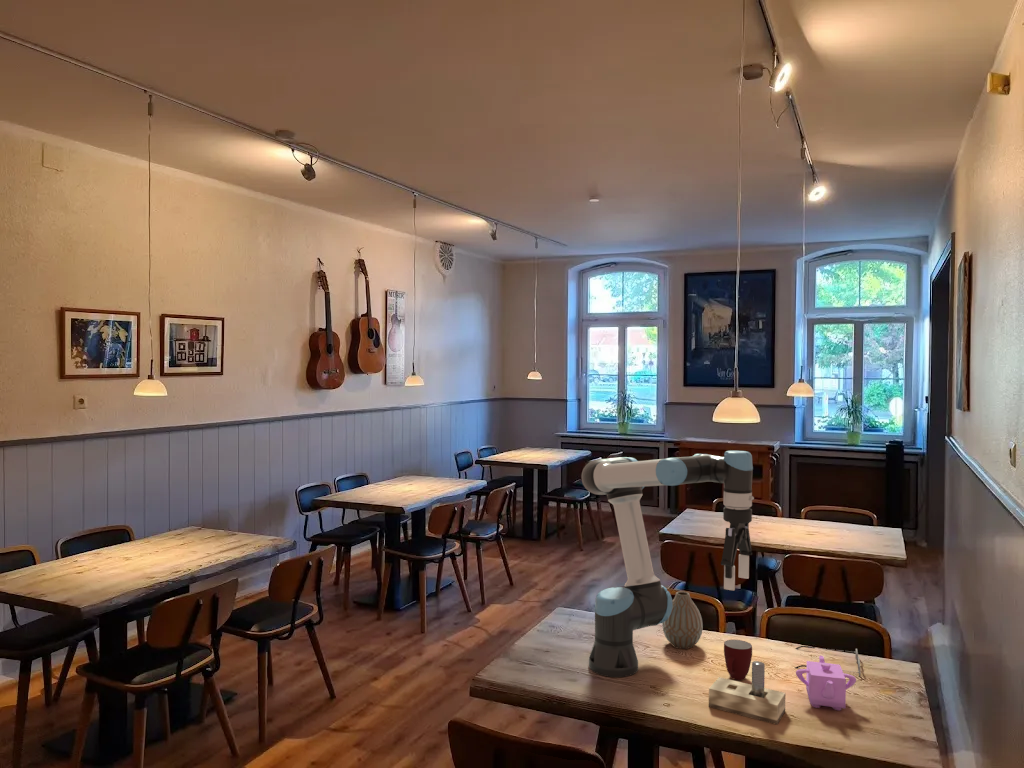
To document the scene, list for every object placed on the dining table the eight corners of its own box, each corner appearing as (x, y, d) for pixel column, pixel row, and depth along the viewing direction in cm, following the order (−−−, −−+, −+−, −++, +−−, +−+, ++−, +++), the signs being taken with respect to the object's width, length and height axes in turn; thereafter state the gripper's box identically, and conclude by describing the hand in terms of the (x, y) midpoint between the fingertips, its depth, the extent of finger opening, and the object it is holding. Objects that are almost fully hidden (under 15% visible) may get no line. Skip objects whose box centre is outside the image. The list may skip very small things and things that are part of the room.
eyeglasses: (861, 679, 218) (861, 666, 218) (794, 671, 225) (794, 658, 225) (857, 658, 235) (857, 646, 235) (795, 651, 242) (794, 639, 242)
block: (708, 706, 198) (708, 688, 198) (718, 694, 206) (719, 677, 206) (777, 724, 188) (777, 705, 188) (785, 711, 196) (785, 692, 196)
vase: (706, 653, 237) (707, 599, 236) (666, 652, 237) (667, 599, 237) (697, 638, 250) (697, 587, 250) (658, 637, 250) (659, 587, 250)
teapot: (866, 710, 197) (866, 670, 197) (830, 719, 191) (830, 678, 191) (820, 688, 211) (821, 650, 211) (786, 696, 205) (786, 658, 205)
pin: (750, 708, 195) (750, 664, 195) (753, 704, 198) (753, 660, 198) (762, 711, 193) (762, 666, 193) (765, 707, 196) (766, 663, 196)
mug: (745, 688, 210) (745, 654, 210) (717, 682, 214) (718, 648, 214) (754, 676, 219) (755, 642, 219) (727, 669, 223) (728, 637, 223)
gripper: (738, 515, 189) (737, 597, 189) (763, 502, 209) (762, 575, 210) (709, 512, 193) (708, 592, 193) (737, 499, 214) (736, 571, 214)
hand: (736, 583), depth 201 cm, fingers open, 13 cm apart
